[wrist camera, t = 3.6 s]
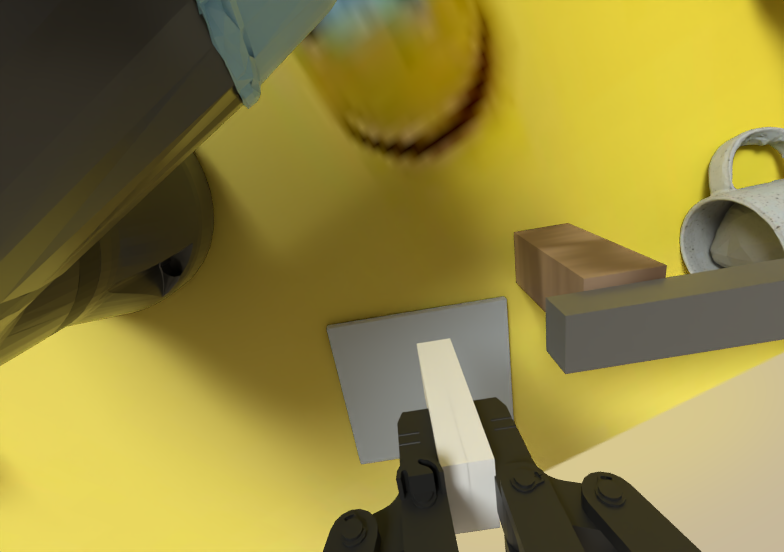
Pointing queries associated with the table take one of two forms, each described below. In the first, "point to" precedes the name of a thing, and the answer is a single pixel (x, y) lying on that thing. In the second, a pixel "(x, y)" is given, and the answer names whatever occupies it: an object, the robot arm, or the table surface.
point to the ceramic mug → (736, 213)
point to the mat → (415, 365)
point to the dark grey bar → (666, 317)
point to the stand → (575, 262)
